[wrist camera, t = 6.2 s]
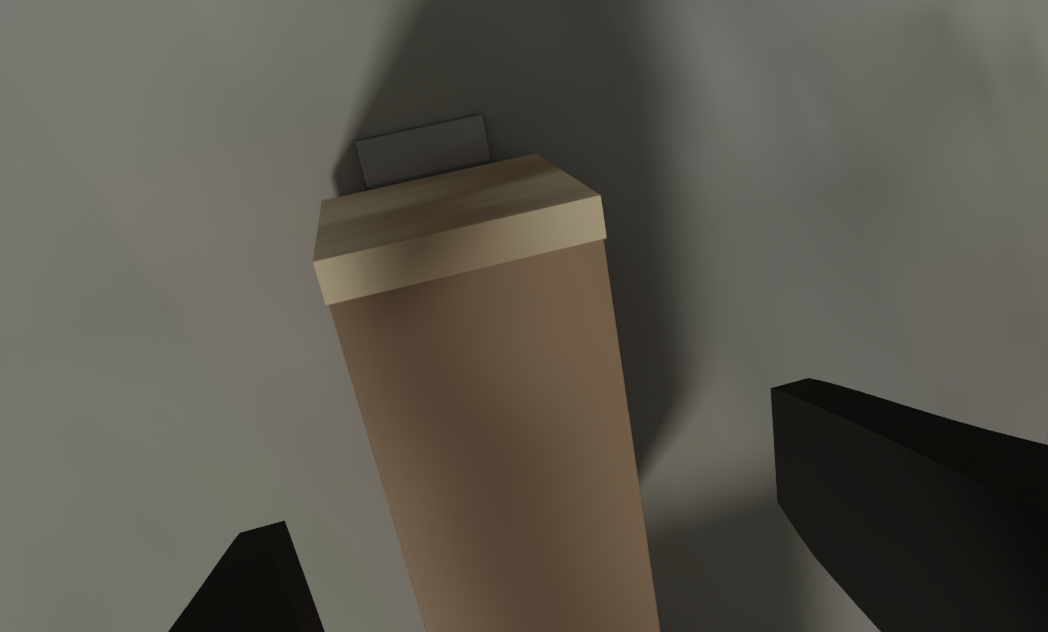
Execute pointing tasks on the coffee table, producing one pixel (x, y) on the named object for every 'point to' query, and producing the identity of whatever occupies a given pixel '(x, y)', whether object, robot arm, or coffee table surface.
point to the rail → (423, 151)
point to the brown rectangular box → (494, 395)
